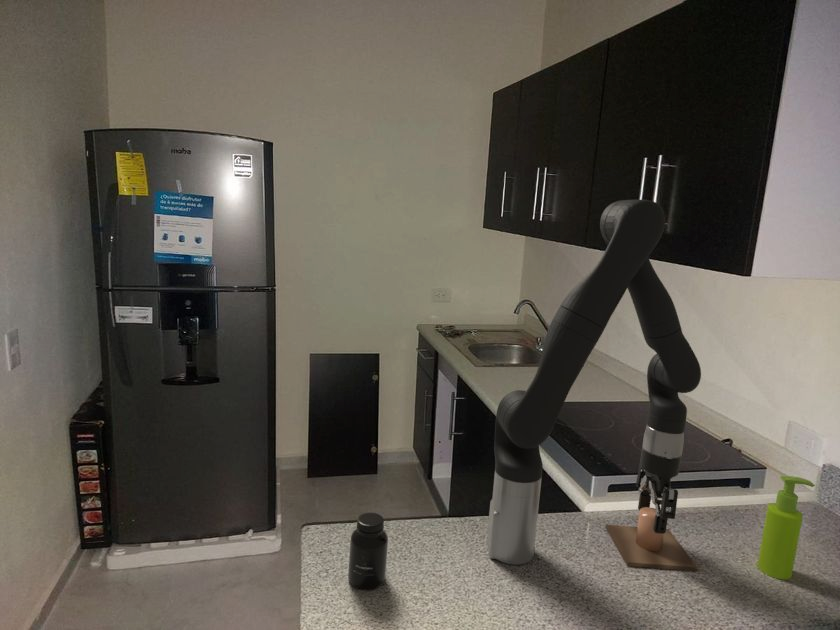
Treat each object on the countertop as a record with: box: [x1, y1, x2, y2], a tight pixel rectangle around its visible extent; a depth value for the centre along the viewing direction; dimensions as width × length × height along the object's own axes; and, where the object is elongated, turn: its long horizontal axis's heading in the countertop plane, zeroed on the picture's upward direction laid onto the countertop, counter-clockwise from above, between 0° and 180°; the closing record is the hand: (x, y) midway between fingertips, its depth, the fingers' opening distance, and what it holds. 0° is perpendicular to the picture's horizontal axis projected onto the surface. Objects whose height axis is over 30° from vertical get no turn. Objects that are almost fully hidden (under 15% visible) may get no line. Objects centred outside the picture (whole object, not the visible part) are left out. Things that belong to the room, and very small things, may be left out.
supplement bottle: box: [347, 512, 389, 591], centre depth 99 cm, size 7×7×12 cm
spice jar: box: [636, 506, 664, 551], centre depth 116 cm, size 5×5×7 cm
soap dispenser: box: [757, 475, 816, 580], centre depth 109 cm, size 6×7×20 cm
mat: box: [605, 524, 699, 572], centre depth 116 cm, size 14×14×1 cm
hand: (650, 521), depth 115 cm, fingers open, 8 cm apart
